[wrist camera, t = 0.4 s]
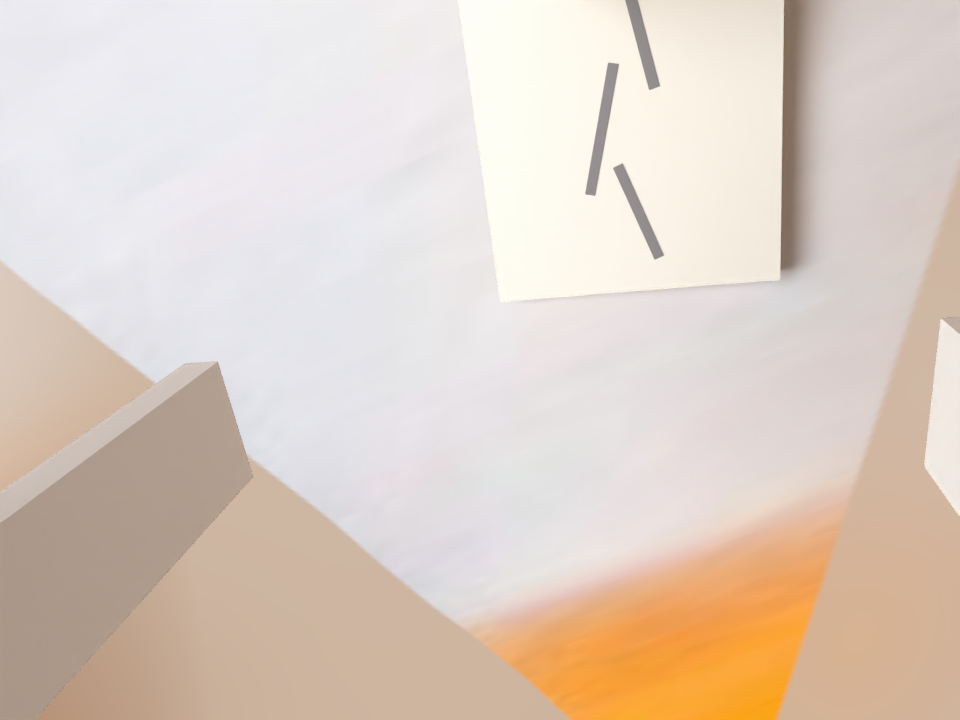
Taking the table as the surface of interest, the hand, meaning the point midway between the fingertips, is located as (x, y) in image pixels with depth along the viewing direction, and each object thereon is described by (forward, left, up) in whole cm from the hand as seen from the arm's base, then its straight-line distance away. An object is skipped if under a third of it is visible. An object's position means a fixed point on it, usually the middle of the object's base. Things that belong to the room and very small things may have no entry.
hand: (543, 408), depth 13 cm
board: (-7, +1, -25) cm, 26 cm away
